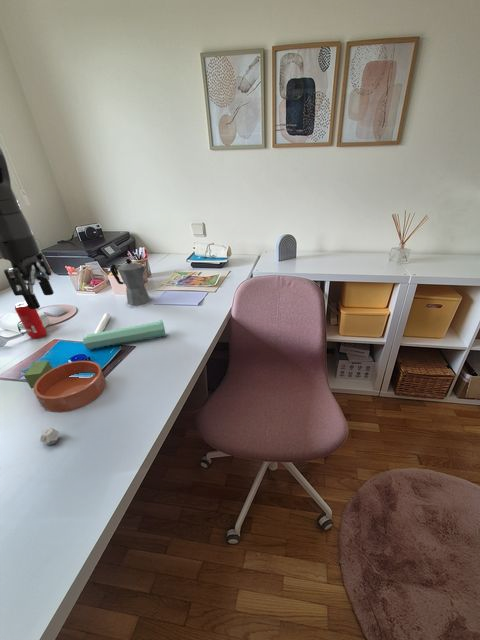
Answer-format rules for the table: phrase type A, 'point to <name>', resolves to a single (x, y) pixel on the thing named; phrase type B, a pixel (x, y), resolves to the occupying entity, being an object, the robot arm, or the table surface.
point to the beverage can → (30, 320)
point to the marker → (103, 323)
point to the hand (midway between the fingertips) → (42, 301)
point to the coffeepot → (132, 281)
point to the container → (124, 335)
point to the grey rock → (49, 436)
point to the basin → (69, 386)
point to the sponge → (36, 371)
